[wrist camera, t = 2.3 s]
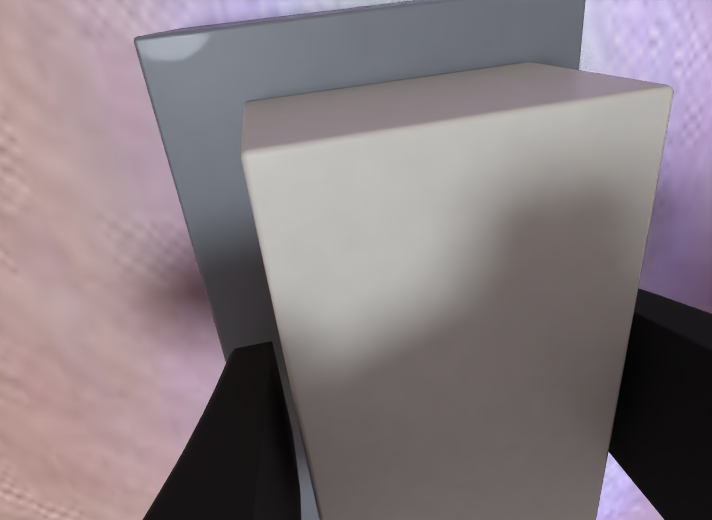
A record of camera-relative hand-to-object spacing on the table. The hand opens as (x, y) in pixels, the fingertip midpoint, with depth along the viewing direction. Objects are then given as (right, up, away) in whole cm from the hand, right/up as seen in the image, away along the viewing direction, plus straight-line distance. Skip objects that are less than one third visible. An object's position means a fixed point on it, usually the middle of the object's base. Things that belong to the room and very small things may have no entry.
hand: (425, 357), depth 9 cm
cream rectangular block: (0, 0, +1) cm, 1 cm away
